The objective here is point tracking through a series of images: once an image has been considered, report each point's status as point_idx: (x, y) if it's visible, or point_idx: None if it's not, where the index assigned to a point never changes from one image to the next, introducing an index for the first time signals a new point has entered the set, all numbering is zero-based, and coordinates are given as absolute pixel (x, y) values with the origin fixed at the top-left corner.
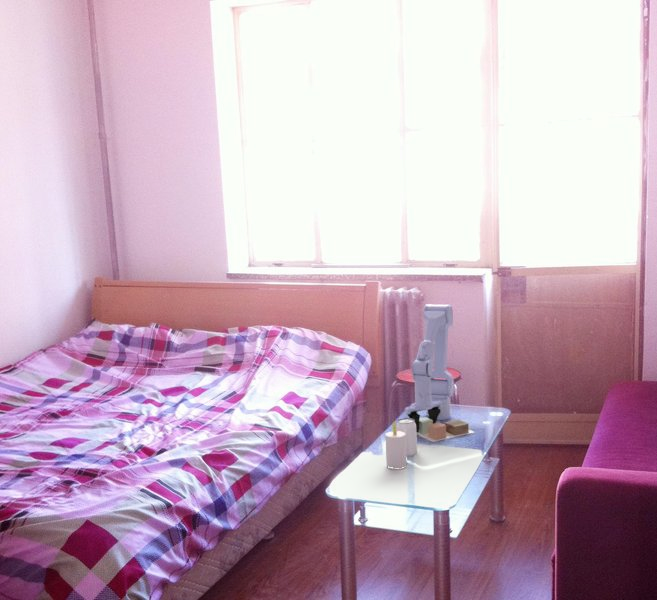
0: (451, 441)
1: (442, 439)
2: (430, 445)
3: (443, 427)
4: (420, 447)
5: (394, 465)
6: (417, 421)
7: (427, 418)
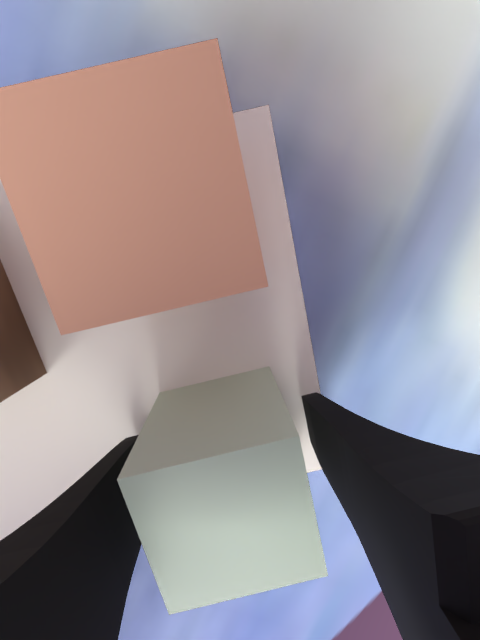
0: None
1: None
2: (293, 110)
3: (45, 98)
4: (399, 94)
5: None
6: (385, 446)
7: (165, 560)
